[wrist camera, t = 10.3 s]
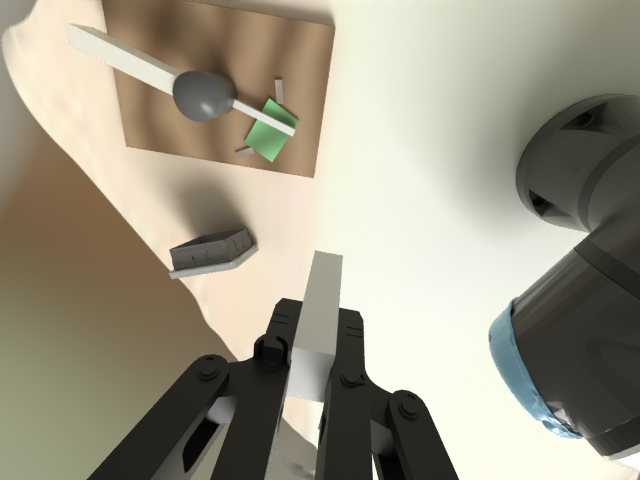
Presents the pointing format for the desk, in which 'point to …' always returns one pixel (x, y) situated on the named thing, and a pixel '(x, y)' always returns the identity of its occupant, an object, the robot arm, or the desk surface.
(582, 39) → the desk surface
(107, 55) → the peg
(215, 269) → the electrical switch
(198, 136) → the board
